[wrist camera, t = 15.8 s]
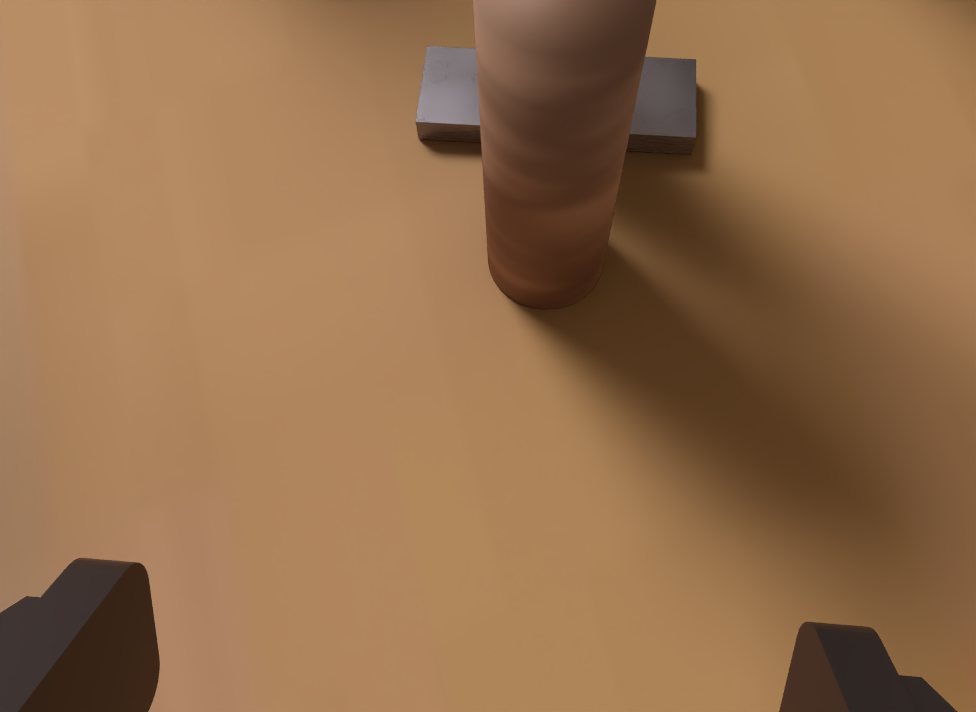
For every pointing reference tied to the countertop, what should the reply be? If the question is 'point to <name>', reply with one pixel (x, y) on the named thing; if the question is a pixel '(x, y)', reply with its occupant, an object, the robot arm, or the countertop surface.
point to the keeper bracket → (656, 120)
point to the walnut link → (555, 136)
